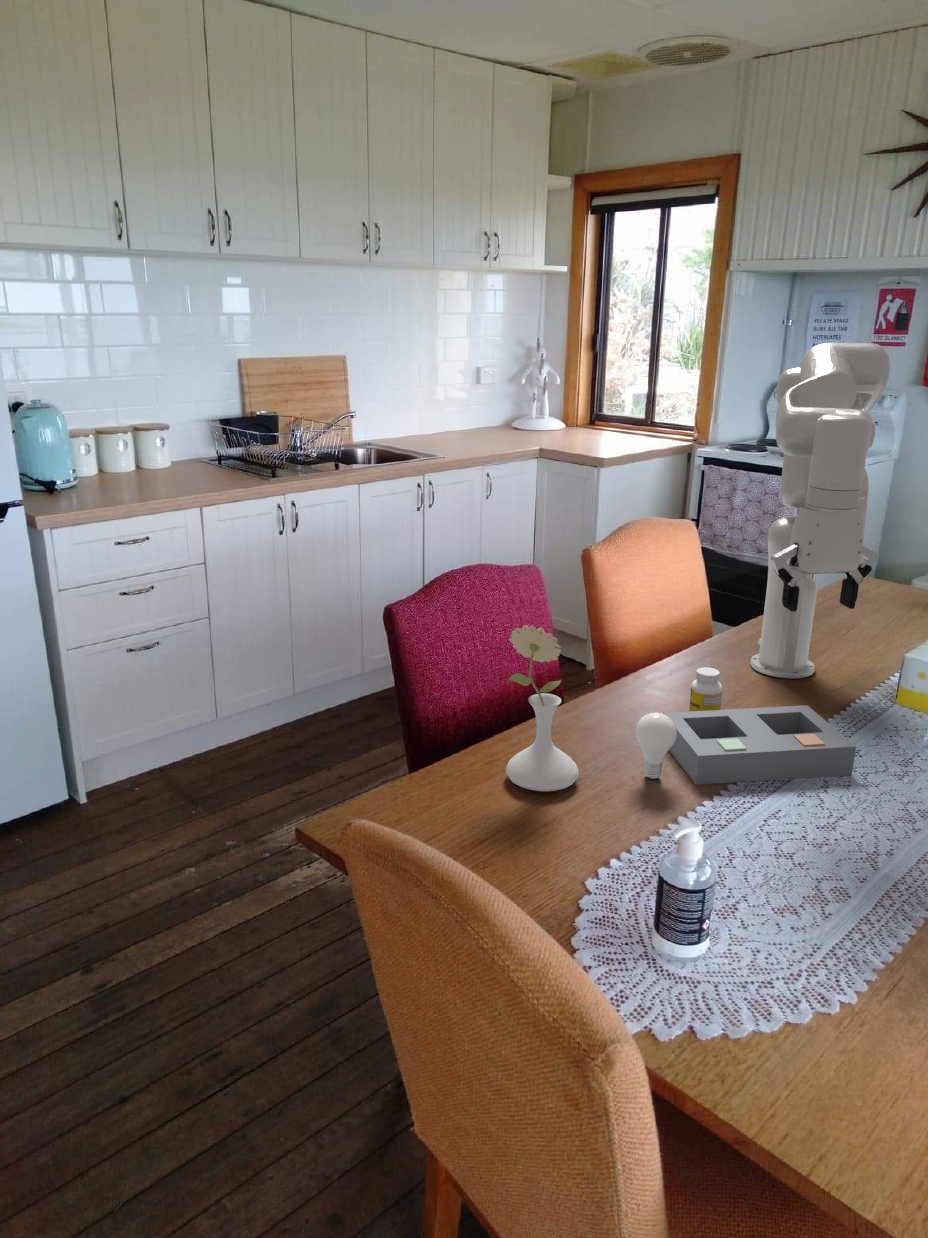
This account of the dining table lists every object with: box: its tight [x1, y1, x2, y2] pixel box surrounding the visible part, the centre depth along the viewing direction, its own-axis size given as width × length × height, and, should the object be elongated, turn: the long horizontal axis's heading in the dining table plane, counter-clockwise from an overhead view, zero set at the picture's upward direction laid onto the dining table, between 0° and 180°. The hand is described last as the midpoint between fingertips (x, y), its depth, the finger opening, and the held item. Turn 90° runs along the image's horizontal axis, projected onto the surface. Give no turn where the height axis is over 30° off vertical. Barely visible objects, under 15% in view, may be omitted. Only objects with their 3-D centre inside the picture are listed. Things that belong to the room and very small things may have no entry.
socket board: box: [662, 704, 857, 786], centre depth 153 cm, size 16×26×5 cm, turn 98°
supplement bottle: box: [688, 666, 723, 712], centre depth 165 cm, size 5×5×10 cm
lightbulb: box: [634, 711, 677, 780], centre depth 145 cm, size 6×6×11 cm
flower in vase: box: [505, 624, 580, 792], centre depth 142 cm, size 13×11×25 cm
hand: (818, 607), depth 144 cm, fingers open, 9 cm apart
